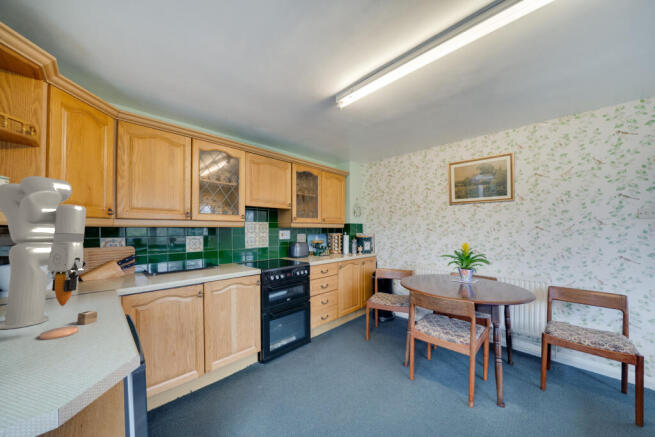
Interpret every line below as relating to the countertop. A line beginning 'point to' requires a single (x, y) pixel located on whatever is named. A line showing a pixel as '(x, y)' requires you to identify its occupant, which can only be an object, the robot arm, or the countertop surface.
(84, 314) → the letter cube
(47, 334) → the peach glossy dome
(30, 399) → the countertop surface
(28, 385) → the countertop surface
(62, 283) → the carrot
